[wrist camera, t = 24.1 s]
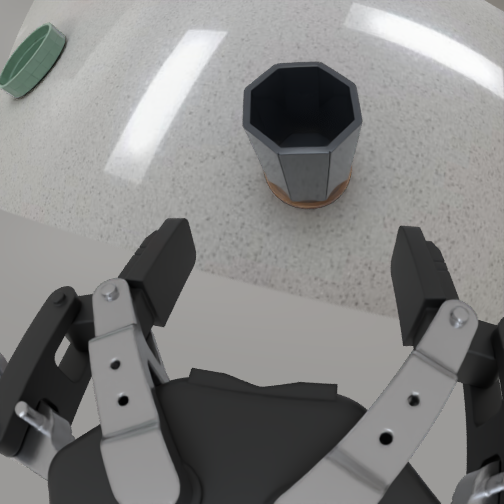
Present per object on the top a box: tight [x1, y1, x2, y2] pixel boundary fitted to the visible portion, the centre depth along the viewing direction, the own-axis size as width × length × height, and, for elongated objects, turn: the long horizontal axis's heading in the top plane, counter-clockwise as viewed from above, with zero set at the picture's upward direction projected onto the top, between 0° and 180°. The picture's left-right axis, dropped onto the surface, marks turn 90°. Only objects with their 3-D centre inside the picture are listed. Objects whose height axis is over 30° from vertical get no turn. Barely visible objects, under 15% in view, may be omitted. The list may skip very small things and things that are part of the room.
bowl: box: [0, 22, 65, 98], centre depth 32 cm, size 14×14×5 cm
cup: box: [242, 62, 363, 203], centre depth 18 cm, size 6×6×8 cm
